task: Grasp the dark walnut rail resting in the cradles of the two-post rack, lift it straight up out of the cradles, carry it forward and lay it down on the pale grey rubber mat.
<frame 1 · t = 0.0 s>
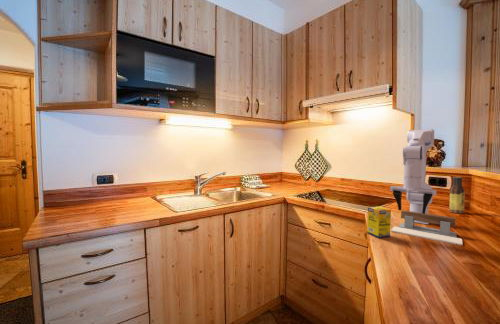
hand: (411, 211, 90), 10 cm above the countertop, tool pointing down, fingers open, 7 cm apart
supplement box: (378, 235, 92), on the countertop
mat: (424, 235, 92), on the countertop
rack: (426, 230, 98), on the countertop
rail: (426, 221, 97), point 4 cm above the countertop, touching rack
sauce bottle: (456, 212, 128), on the countertop
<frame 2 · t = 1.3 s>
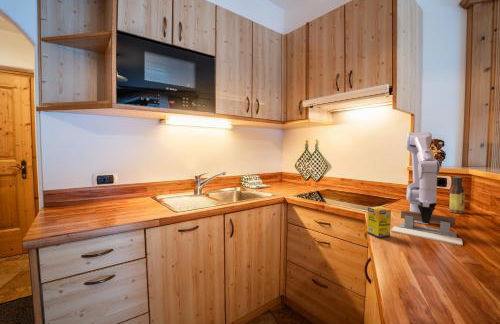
hand: (426, 221, 97), 4 cm above the countertop, tool pointing down, fingers open, 7 cm apart
nothing on the countertop moved.
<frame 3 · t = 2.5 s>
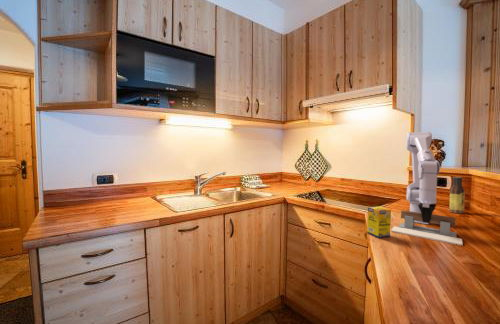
hand: (426, 221, 97), 4 cm above the countertop, tool pointing down, fingers closed on rail, 3 cm apart
rail: (426, 221, 97), point 4 cm above the countertop, touching gripper, rack
everything else where it was.
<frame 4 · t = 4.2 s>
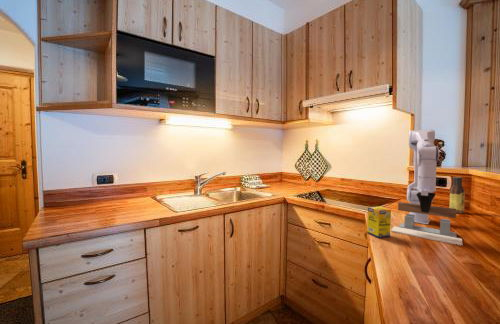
hand: (425, 211, 91), 10 cm above the countertop, tool pointing down, fingers closed on rail, 3 cm apart
rail: (425, 213, 91), point 9 cm above the countertop, touching gripper
everything else where it was.
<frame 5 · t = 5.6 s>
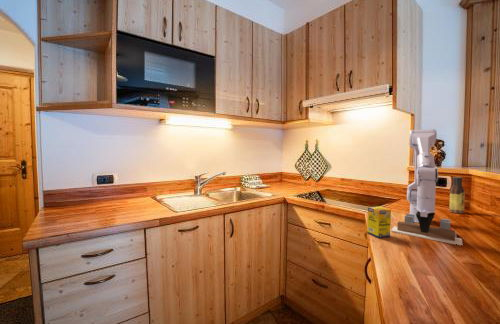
hand: (424, 231, 92), 2 cm above the countertop, tool pointing down, fingers closed on rail, 3 cm apart
rail: (424, 233, 92), point 1 cm above the countertop, touching gripper
everything else where it was.
when the fingers open (2 cm above the countertop, at t = 6.3 s): rail stays where it is, resting on mat.
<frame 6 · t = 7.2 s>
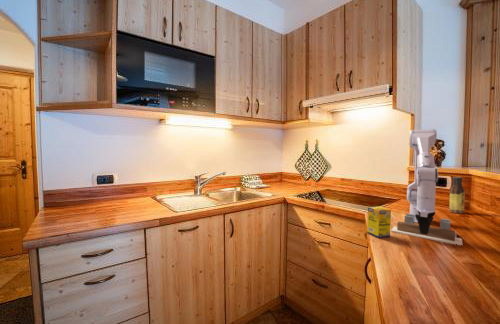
hand: (424, 231, 92), 2 cm above the countertop, tool pointing down, fingers open, 7 cm apart
rail: (424, 234, 92), point 1 cm above the countertop, touching mat
everything else where it was.
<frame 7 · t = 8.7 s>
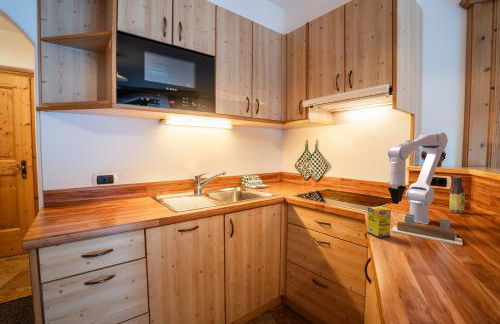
hand: (396, 202, 105), 10 cm above the countertop, tool pointing down, fingers open, 7 cm apart
nothing on the countertop moved.
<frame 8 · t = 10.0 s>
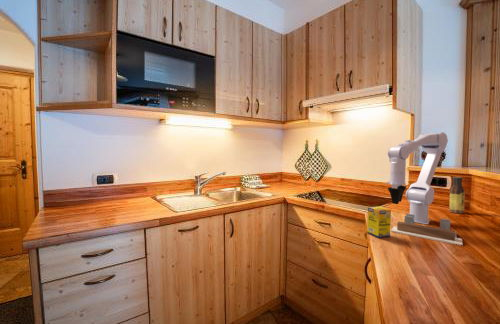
hand: (396, 202, 105), 10 cm above the countertop, tool pointing down, fingers open, 7 cm apart
nothing on the countertop moved.
at the end: rail inside the target area on the mat (0.1 cm from its centre), point 0.6 cm above the mat's base; rail touching mat; the gripper is holding nothing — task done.
